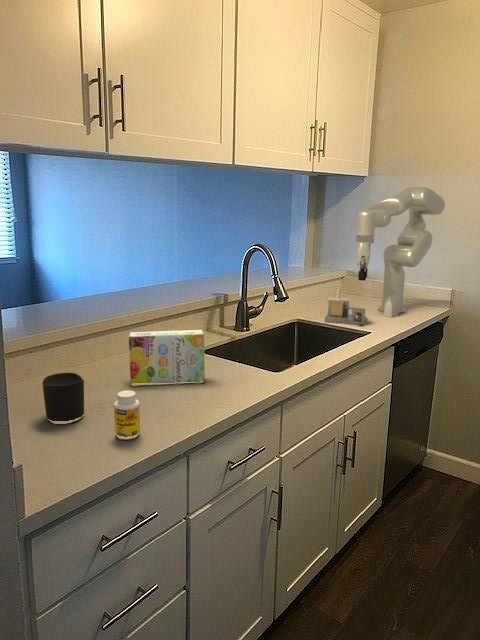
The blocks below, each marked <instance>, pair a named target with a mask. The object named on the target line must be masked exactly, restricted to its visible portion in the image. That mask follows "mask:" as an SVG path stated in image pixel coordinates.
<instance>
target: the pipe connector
mask: <svg viewBox="0 0 480 640" xmlns="http://www.w3.org/2000/svg"><path fill="white" fill-rule="evenodd" d="M326 299H327V300H326V301H327V302H329V300H334V301H347V302H349V303H350V297H349V298H348V297H341V289H336V296H335V297H327V298H326Z"/></svg>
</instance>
